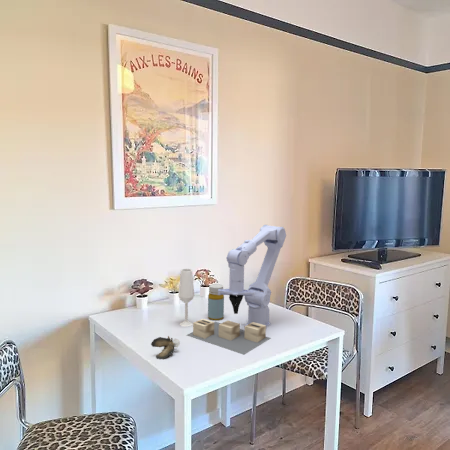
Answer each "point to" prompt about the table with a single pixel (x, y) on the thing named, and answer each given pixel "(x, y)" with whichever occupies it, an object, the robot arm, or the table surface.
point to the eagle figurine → (165, 346)
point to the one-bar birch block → (255, 332)
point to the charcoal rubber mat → (231, 341)
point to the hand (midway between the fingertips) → (236, 313)
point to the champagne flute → (186, 292)
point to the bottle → (215, 303)
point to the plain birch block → (229, 330)
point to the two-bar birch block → (203, 328)
